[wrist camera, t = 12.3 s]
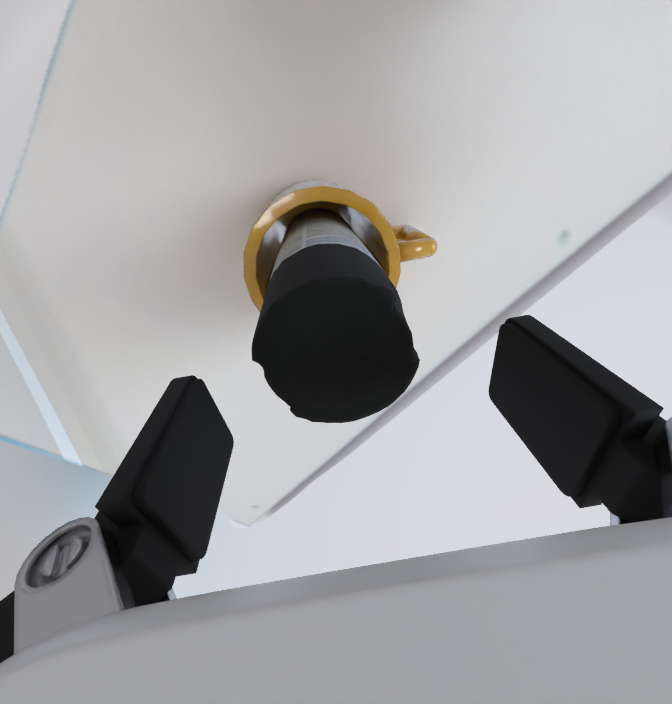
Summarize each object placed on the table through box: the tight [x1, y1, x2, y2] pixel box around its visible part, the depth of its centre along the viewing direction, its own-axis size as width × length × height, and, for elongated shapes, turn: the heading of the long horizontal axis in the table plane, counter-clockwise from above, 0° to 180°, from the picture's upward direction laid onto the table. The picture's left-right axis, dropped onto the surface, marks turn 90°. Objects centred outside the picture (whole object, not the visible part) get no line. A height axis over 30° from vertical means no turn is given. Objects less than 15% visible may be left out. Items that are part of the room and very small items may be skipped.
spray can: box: [252, 208, 420, 423], centre depth 19 cm, size 7×7×20 cm
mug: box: [244, 180, 437, 312], centre depth 24 cm, size 14×11×10 cm
